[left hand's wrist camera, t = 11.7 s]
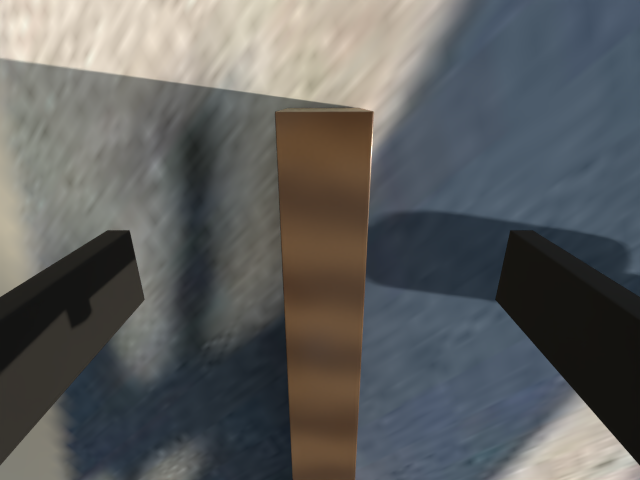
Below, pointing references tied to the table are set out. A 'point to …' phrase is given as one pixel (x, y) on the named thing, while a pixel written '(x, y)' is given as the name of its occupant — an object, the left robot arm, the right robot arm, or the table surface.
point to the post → (324, 280)
